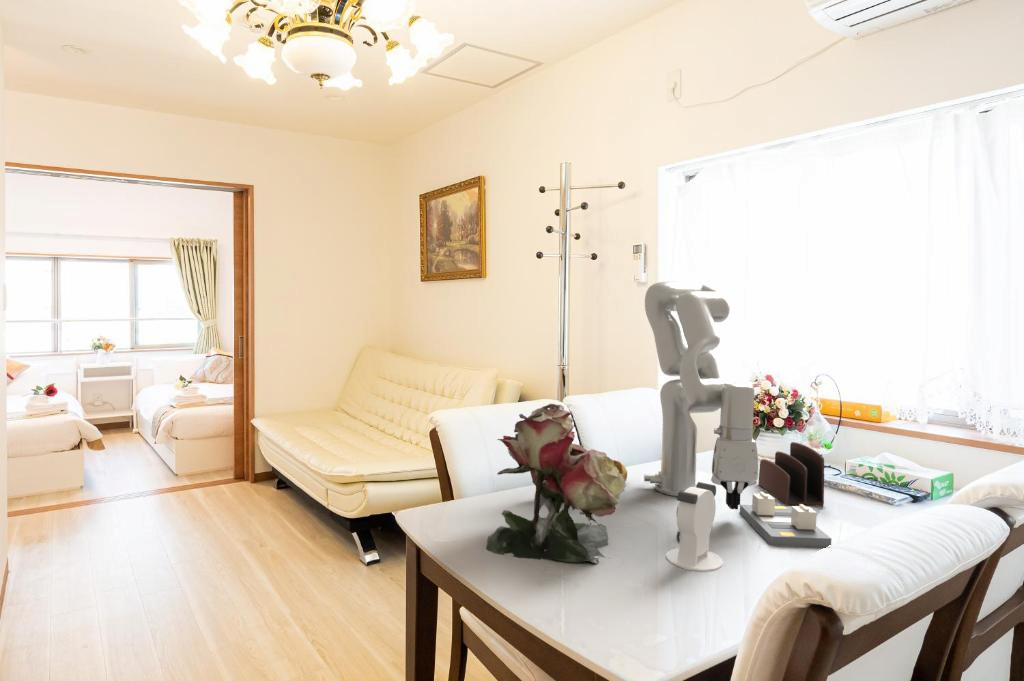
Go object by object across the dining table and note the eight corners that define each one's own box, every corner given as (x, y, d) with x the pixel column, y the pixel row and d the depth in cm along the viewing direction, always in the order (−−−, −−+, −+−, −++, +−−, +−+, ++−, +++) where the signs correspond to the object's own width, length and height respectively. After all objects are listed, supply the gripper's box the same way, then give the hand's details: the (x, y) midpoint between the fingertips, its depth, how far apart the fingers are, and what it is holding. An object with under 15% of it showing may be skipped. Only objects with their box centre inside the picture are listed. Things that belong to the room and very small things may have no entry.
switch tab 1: (757, 514, 154) (758, 496, 154) (752, 509, 158) (752, 491, 158) (774, 515, 154) (775, 496, 154) (768, 510, 158) (769, 491, 158)
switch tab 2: (797, 529, 145) (798, 509, 145) (790, 522, 149) (791, 503, 149) (815, 529, 145) (816, 509, 145) (808, 523, 149) (809, 504, 149)
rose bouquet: (622, 569, 127) (627, 419, 125) (479, 554, 132) (482, 411, 130) (625, 525, 152) (629, 400, 150) (504, 514, 157) (507, 393, 155)
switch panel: (771, 545, 141) (771, 535, 141) (739, 512, 163) (740, 504, 163) (830, 547, 141) (831, 538, 140) (791, 514, 163) (791, 506, 162)
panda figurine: (681, 544, 141) (684, 477, 140) (732, 558, 133) (735, 487, 132) (656, 560, 131) (659, 488, 130) (709, 576, 124) (713, 500, 123)
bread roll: (578, 481, 188) (579, 454, 188) (596, 474, 196) (596, 449, 195) (616, 490, 180) (617, 462, 179) (633, 483, 187) (634, 456, 187)
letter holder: (791, 485, 189) (793, 438, 189) (824, 507, 170) (827, 454, 169) (757, 484, 189) (760, 437, 189) (786, 506, 170) (789, 453, 169)
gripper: (709, 435, 152) (705, 511, 153) (772, 437, 151) (769, 513, 152) (701, 429, 159) (698, 501, 161) (761, 431, 159) (758, 504, 160)
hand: (732, 507), depth 156 cm, fingers closed
